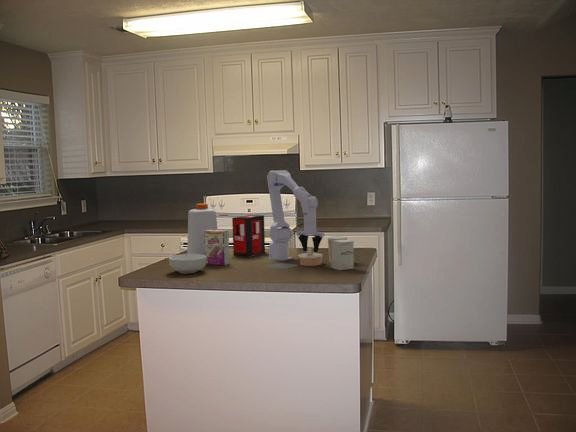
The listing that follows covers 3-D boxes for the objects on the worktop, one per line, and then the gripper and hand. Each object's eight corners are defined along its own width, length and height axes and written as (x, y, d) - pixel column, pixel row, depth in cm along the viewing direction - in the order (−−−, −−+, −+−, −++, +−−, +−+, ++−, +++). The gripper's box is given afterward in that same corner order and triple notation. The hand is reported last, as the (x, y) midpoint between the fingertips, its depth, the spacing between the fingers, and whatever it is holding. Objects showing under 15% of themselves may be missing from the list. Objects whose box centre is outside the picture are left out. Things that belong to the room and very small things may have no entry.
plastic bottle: (213, 255, 304) (211, 202, 301) (222, 259, 290) (220, 204, 287) (185, 257, 297) (183, 203, 295) (193, 262, 284) (191, 205, 281)
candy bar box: (204, 264, 276) (203, 230, 274) (210, 262, 280) (209, 229, 279) (224, 265, 271) (223, 231, 270) (230, 264, 276) (228, 230, 274)
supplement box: (340, 270, 252) (339, 242, 251) (331, 268, 259) (330, 240, 258) (354, 268, 256) (353, 240, 255) (345, 266, 262) (344, 239, 261)
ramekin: (295, 265, 268) (295, 256, 268) (308, 262, 276) (307, 253, 276) (313, 267, 262) (313, 258, 262) (325, 263, 270) (325, 255, 270)
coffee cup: (346, 264, 267) (346, 238, 266) (326, 264, 269) (326, 238, 268) (348, 260, 277) (348, 236, 275) (329, 260, 278) (328, 236, 277)
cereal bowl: (189, 277, 246) (188, 260, 246) (161, 274, 255) (160, 258, 254) (214, 270, 261) (214, 254, 260) (187, 267, 269) (186, 252, 269)
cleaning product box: (247, 257, 295) (246, 218, 293) (233, 256, 299) (232, 217, 297) (265, 252, 309) (263, 215, 307) (251, 251, 314) (250, 215, 312)
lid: (292, 256, 267) (292, 248, 267) (307, 253, 276) (307, 244, 276) (312, 259, 260) (312, 249, 260) (327, 255, 269) (327, 246, 269)
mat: (263, 267, 264) (263, 266, 264) (278, 263, 274) (278, 262, 274) (283, 270, 257) (283, 269, 257) (299, 265, 267) (299, 264, 267)
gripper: (292, 222, 268) (292, 251, 269) (318, 224, 260) (318, 253, 261) (301, 221, 274) (301, 249, 275) (326, 222, 265) (327, 251, 266)
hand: (310, 251), depth 268 cm, fingers open, 5 cm apart
